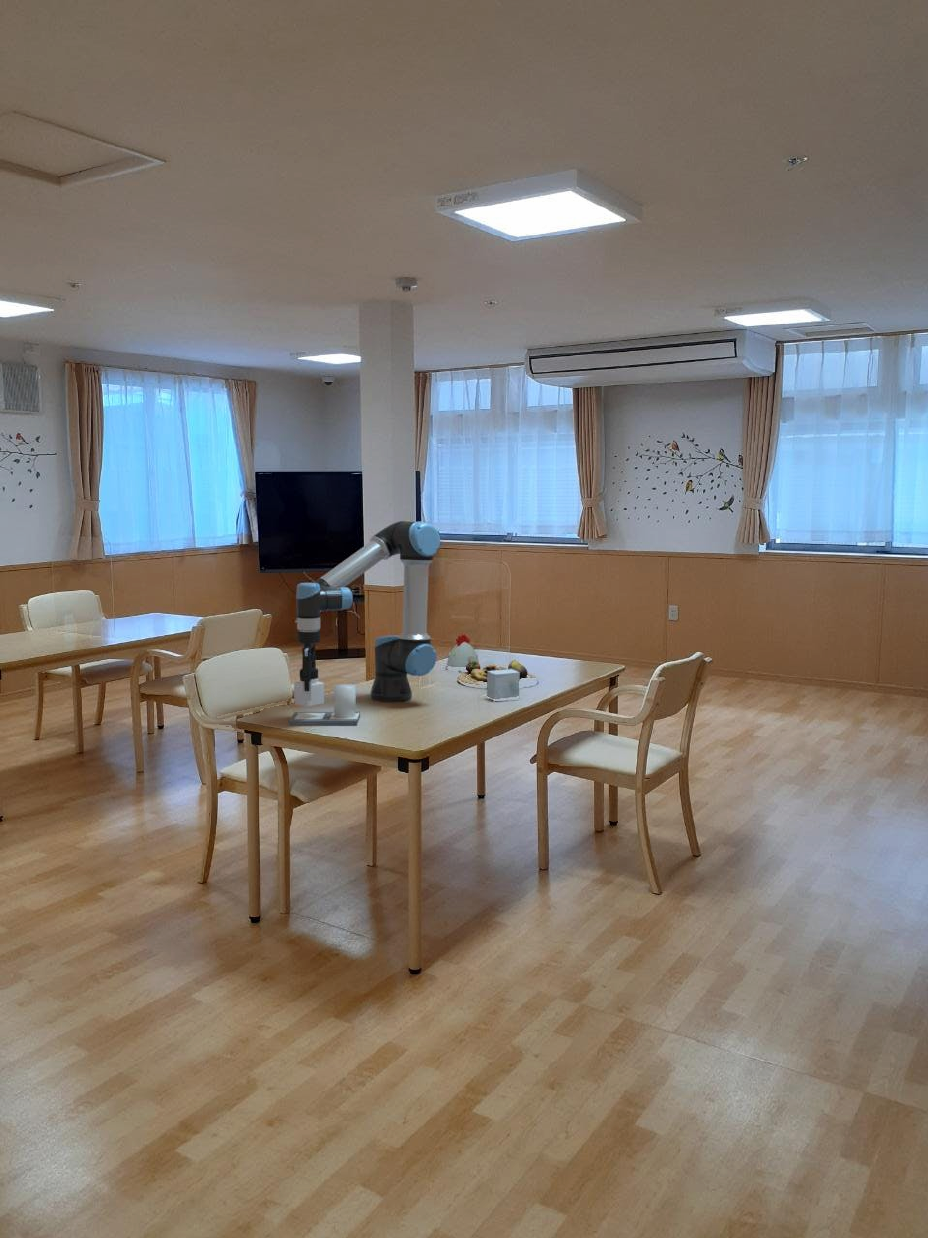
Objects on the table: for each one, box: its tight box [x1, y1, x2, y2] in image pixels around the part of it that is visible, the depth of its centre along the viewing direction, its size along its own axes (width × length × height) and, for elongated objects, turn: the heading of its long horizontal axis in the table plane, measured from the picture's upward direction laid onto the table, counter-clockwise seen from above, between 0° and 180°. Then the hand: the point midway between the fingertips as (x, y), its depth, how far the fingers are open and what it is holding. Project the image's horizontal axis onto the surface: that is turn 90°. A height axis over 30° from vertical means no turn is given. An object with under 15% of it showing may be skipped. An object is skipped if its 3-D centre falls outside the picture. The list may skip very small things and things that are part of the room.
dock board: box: [288, 711, 361, 727], centre depth 336 cm, size 22×14×2 cm, turn 91°
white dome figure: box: [446, 634, 480, 667], centre depth 431 cm, size 14×14×15 cm
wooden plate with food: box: [457, 659, 538, 685], centre depth 404 cm, size 32×32×8 cm
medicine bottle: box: [293, 667, 325, 708], centre depth 334 cm, size 7×7×12 cm
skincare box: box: [486, 669, 520, 699], centre depth 370 cm, size 10×6×10 cm, turn 115°
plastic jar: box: [333, 683, 357, 718], centre depth 335 cm, size 7×7×10 cm
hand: (309, 697), depth 335 cm, fingers closed on medicine bottle, 10 cm apart
